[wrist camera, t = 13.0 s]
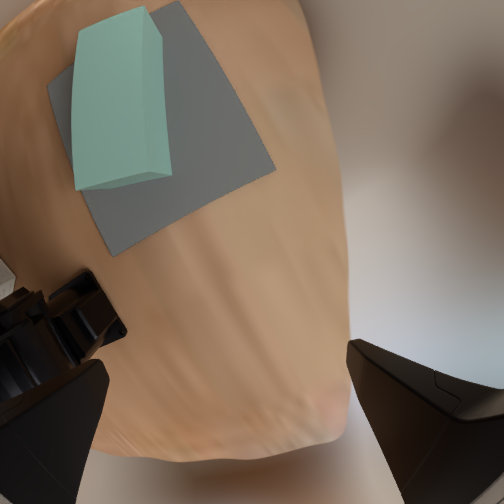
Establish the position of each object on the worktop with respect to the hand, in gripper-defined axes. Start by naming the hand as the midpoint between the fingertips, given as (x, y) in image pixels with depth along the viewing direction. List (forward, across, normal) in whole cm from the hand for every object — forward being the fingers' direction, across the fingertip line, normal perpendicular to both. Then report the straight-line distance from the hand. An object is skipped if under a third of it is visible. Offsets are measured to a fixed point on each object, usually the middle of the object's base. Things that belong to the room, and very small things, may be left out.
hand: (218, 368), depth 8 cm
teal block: (+9, +6, -7) cm, 13 cm away
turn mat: (+12, +6, -13) cm, 18 cm away
